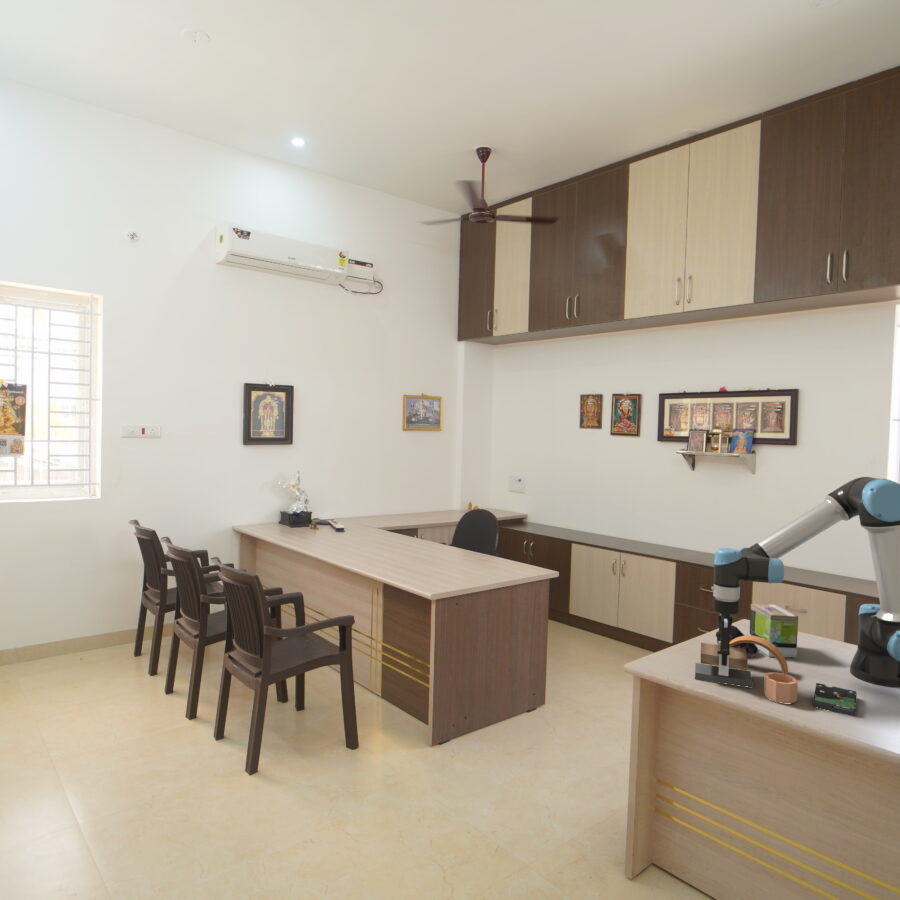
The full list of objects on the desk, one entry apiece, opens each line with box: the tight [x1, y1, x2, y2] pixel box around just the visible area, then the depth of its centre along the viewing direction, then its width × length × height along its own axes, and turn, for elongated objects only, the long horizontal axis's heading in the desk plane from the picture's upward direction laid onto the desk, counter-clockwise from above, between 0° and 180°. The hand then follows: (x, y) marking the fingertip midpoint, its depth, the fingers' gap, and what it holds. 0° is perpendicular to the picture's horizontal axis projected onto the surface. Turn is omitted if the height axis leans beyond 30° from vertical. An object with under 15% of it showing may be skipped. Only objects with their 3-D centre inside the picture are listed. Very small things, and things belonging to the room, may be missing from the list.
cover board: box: [700, 642, 749, 671], centre depth 195 cm, size 13×11×3 cm
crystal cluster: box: [715, 625, 759, 658], centre depth 220 cm, size 13×14×10 cm
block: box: [694, 662, 753, 688], centre depth 195 cm, size 16×9×2 cm, turn 68°
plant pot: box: [763, 671, 798, 704], centre depth 181 cm, size 8×8×6 cm
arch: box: [730, 634, 789, 675], centre depth 205 cm, size 6×20×10 cm, turn 55°
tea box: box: [748, 603, 799, 658], centre depth 222 cm, size 15×10×15 cm
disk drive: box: [812, 682, 858, 718], centre depth 179 cm, size 10×3×15 cm
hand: (722, 668), depth 195 cm, fingers closed on cover board, 11 cm apart
